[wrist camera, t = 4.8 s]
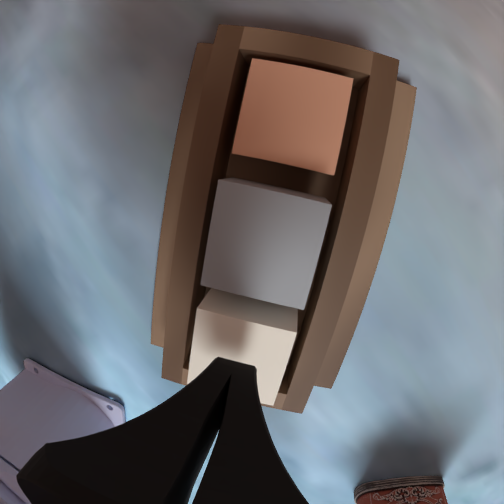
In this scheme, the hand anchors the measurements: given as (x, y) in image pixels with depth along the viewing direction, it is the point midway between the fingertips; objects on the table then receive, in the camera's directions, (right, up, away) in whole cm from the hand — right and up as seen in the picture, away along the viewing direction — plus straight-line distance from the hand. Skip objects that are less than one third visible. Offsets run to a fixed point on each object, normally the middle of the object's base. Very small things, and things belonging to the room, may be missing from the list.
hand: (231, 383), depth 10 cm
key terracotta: (+2, +10, +2) cm, 10 cm away
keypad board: (+2, +6, +4) cm, 7 cm away
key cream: (0, +1, +4) cm, 4 cm away
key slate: (+1, +5, +2) cm, 6 cm away
